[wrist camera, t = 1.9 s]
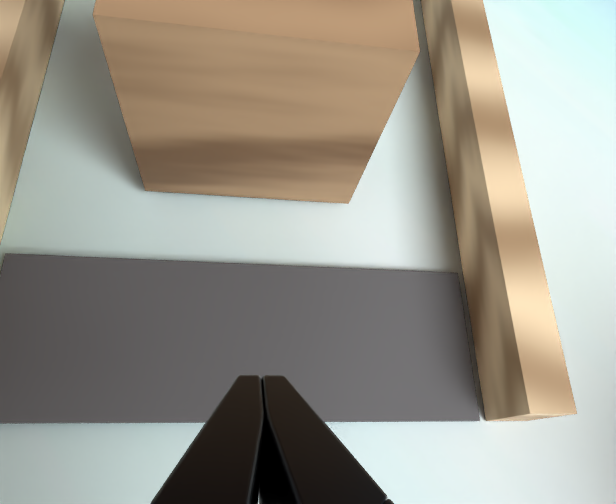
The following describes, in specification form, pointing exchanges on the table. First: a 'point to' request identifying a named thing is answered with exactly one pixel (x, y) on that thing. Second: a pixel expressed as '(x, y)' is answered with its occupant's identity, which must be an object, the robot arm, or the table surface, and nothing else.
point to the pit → (227, 340)
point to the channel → (462, 180)
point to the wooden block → (257, 90)
